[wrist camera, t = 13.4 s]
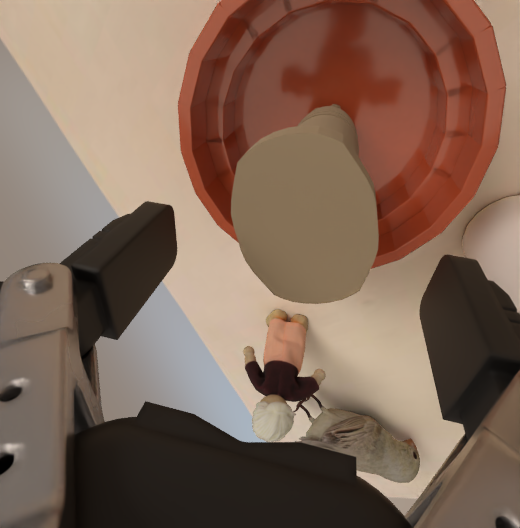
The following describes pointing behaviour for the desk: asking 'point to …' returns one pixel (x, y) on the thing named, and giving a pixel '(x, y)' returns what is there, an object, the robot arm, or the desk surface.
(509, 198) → the spray bottle
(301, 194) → the handle
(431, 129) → the bowl
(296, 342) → the grandmother figurine
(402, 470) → the decorative bird
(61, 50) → the desk surface
